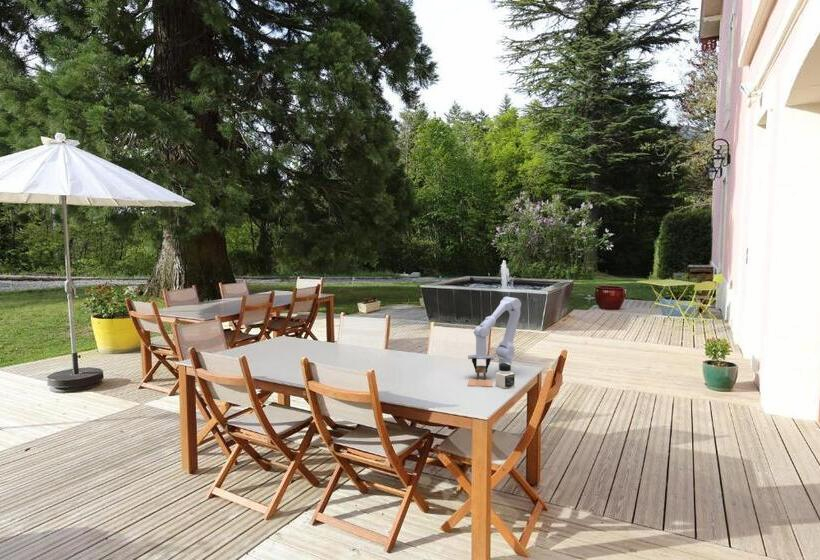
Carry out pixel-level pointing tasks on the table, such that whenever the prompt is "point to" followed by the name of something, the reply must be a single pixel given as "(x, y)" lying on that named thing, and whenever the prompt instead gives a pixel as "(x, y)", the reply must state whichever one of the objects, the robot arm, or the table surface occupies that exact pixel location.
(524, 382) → the table surface
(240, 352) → the table surface
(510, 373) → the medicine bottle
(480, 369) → the brown slotted block
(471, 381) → the terracotta tile
